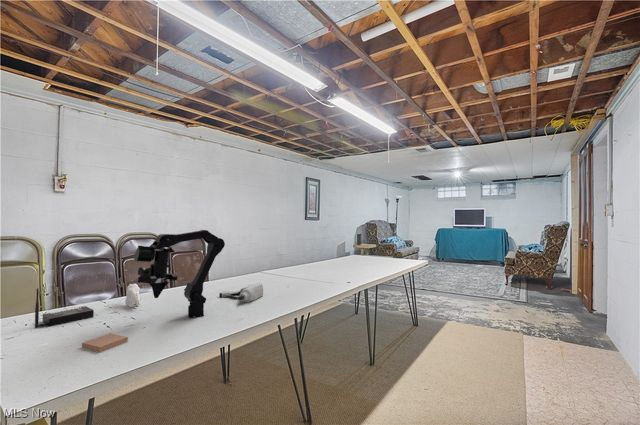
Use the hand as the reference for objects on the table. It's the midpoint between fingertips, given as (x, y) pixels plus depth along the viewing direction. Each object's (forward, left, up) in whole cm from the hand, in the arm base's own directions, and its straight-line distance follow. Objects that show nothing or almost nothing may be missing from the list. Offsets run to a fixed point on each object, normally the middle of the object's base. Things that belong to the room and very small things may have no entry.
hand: (156, 298), depth 133 cm
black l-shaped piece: (+39, -22, -12) cm, 47 cm away
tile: (+11, +13, -11) cm, 21 cm away
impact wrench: (-39, -31, -12) cm, 51 cm away
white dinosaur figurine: (+13, -36, -12) cm, 40 cm away
